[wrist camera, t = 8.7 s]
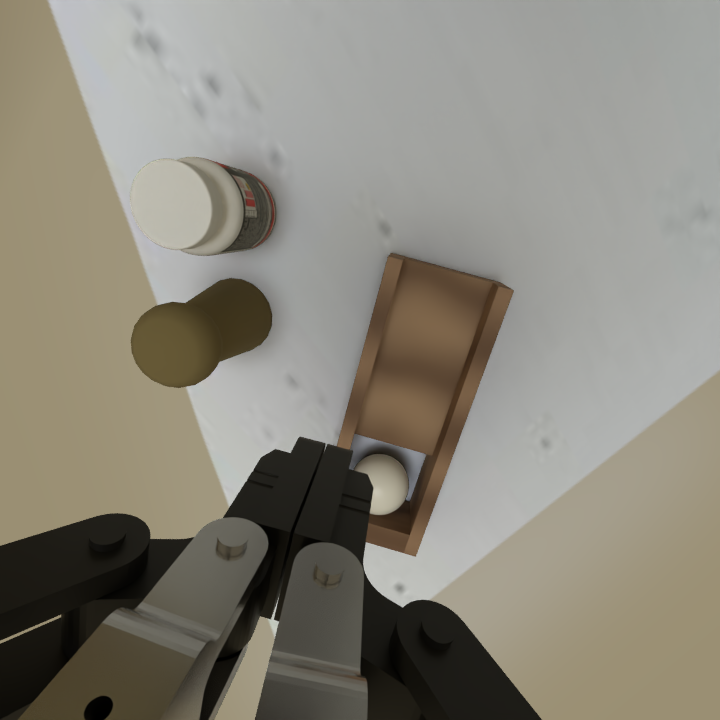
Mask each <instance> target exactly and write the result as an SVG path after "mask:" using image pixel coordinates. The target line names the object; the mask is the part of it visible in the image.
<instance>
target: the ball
mask: <svg viewBox="0 0 720 720" xmlns="http://www.w3.org/2000/svg"><path fill="white" fill-rule="evenodd" d="M354 471H358V472H362V473H365V474H368V476H369V479H370V481H371V483H372V485H373V495H372V502H371V509H370V513H371V514H374V515H385V514H389V513H391V512H394V511H395V510H397V509H398V508H399V507H400V506H401V505H402V504H403V502H404V501H405V499H406V497H407V494H408V489H409V480H408V476H407V473H406V471H405V469H404V467H403V466H402V465H401V464H400V462H398V461H397V460H396V459H394V458H393V457H391V456H388V455H384V454H374V455H370V456H367V457H365V458H364V459H362V460H361V461H360V462H359V463H358V464H357V465H356V466H355V468H354Z"/></svg>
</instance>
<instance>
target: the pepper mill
mask: <svg viewBox="0 0 720 720" xmlns="http://www.w3.org/2000/svg"><path fill="white" fill-rule="evenodd" d="M271 326H272V313H271V309H270V306H269V302H268V301H267V299H266V298H265V296H264V295H263V293H262V292H261V291H260V290H259V289H258V288H256V287H255V286H254V285H253V284H251V283H249V282H246V281H244V280H242V279H233V278H229V279H225V280H221V281H218V282H217V283H215V284H214V285H212V286H211V287H209V288H208V289H206V290H205V291H203V292H201V293H200V294H198V295H197V296H195V297H194V298H192V299H191V300H189V301H188V302H186V303H178V302H170V303H166V304H161V305H158V306H155V307H153V308H152V309H150V310H149V311H147V312H146V313H144V314H143V315H142V316H141V317H140V319H139V320H138V322H137V323H136V324H135V326H134V330H133V333H132V337H131V346H132V347H131V348H132V354H133V357H134V359H135V361H136V364H137V365H138V367H139V368H140V369H141V371H142V372H143V373H144V374H145V375H146V376H148V377H149V378H150V379H151V380H153V381H155V382H158V383H160V384H162V385H165V386H168V387H176V388H181V387H186V386H191V385H196V384H197V383H199V382H201V381H202V380H204V379H206V378H207V377H208V376H210V374H211V373H212V372H213V371H214V369H215V368H216V367H217V365H218V363H219V362H220V361H223V360H225V359H228V358H231V357H233V356H236V355H239V354H241V353H244V352H247V351H250V350H252V349H254V348H255V347H257V346H259V345H261V344H262V342H263V341H264V340H265V339H266V338H267V336H268V334H269V331H270V329H271Z"/></svg>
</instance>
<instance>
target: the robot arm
mask: <svg viewBox="0 0 720 720" xmlns="http://www.w3.org/2000/svg"><path fill="white" fill-rule="evenodd" d="M325 445H326V444H325V443H322V442H319V441H315V440H311V439H307V438H304V437H299V438H298V440H297V442H296V444H295V446H294V448H293V450H292V452H291V453H288V452H284V451H280V450H277V449H275V450H273V451H271V452H270V453H268V454H266V455H265V456H263V457H261V459H260V460H259V462H258V463H257V465H256V467H255V468H254V471H253V472H252V473H251V475H250V476H249V478H248V479H247V482H245V484H244V486H243V487H242V489H241V490H240V492H239V493H238V495H237V497H236V498H235V500H234V501H233V503H232V504H231V506H230V508H229V509H228V511H227V512H226V514H225V515H224V517H223V518H222V519H218V520H215V521H212V522H210V523H209V524H207V525H206V526H204V527H203V528H202V529H201V530H200V531H199V532H198V534H197V535H196V536H195V537H193V538H188V539H150V530H149V528H148V526H147V525H146V523H145V522H143V521H142V520H141V519H139V518H137V517H135V516H132V515H127V514H118V513H117V514H105V515H100V516H96V517H93V518H89V519H86V520H83V521H80V522H76V523H73V524H70V525H67V526H63V527H60V528H57V529H54V530H51V531H47V532H44V533H41V534H38V535H34V536H31V537H28V538H24V539H21V540H18V541H15V542H12V543H8V544H5V545H2V546H0V640H3V639H5V638H7V637H10V636H12V635H14V634H17V633H19V632H21V631H24V630H26V629H28V628H30V627H33V626H35V625H38V624H40V623H42V622H44V621H47V620H49V619H51V618H54V617H56V616H58V615H61V618H59V619H56V620H54V621H52V622H49V623H47V624H45V625H42V626H40V627H38V628H36V629H33V630H31V631H29V632H27V633H24V634H22V635H20V636H17V637H15V638H13V639H10V640H8V641H6V642H4V643H1V644H0V720H214V719H215V717H216V715H217V713H218V710H219V708H220V706H221V704H222V702H223V700H224V698H225V696H226V693H227V692H228V689H229V687H230V685H231V683H232V681H233V679H234V677H235V675H236V672H237V670H238V668H239V666H240V664H241V662H242V660H243V657H244V655H245V653H246V650H247V646H248V642H249V641H250V639H251V637H252V635H253V633H254V630H255V628H256V625H257V622H258V620H259V617H260V616H261V617H265V618H268V619H271V617H272V614H273V612H274V609H275V606H276V603H277V600H278V598H279V600H278V604H277V609H276V613H275V617H274V620H276V621H279V624H278V628H277V632H276V636H275V641H274V645H273V649H272V653H271V657H270V660H269V664H268V668H267V672H266V676H265V680H264V684H263V689H262V693H261V697H260V701H259V705H258V709H257V713H256V717H255V720H541V718H540V717H539V716H538V714H537V713H536V712H535V711H534V709H533V708H532V707H531V706H530V704H529V703H528V702H527V701H526V699H525V698H524V697H523V696H522V694H521V693H520V692H519V691H518V689H517V688H516V687H515V686H514V684H513V683H512V682H511V681H510V679H509V678H508V677H507V676H506V674H505V673H504V672H503V671H502V669H501V668H500V667H499V666H498V664H497V663H496V662H495V661H494V659H493V658H492V657H491V656H490V654H489V653H488V652H487V651H486V649H485V648H484V647H483V646H482V644H481V643H480V642H479V641H478V639H477V638H476V637H475V636H474V634H473V633H472V632H471V631H470V629H469V628H468V627H467V626H466V624H465V623H464V622H463V621H462V620H461V619H460V618H459V617H458V615H456V614H455V613H454V612H453V611H452V610H450V609H449V608H447V607H445V606H443V605H442V604H439V603H437V602H433V601H429V600H417V601H413V602H410V603H409V604H407V605H406V606H404V607H403V608H402V607H400V606H399V605H397V604H395V603H394V602H392V601H391V600H389V599H387V598H386V597H384V596H383V595H382V594H380V593H379V592H378V591H377V590H376V589H375V588H374V587H373V586H372V584H371V583H370V582H369V580H368V578H367V576H366V574H365V571H364V567H363V557H364V550H365V543H366V536H367V529H368V522H369V514H370V509H371V502H372V495H373V485H372V483H371V481H370V479H369V476H368V474H365V473H362V472H358V471H354V470H351V469H349V465H350V461H351V457H352V454H353V451H352V450H349V449H345V448H341V447H337V446H334V445H330V444H327V446H326V449H325ZM324 450H325V452H324Z"/></svg>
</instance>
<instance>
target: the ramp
mask: <svg viewBox="0 0 720 720" xmlns="http://www.w3.org/2000/svg"><path fill="white" fill-rule="evenodd" d="M513 292H514V290H512V289H510V288H509V287H507V286H505V285H504V284H502V283H500V282H497V281H493V280H489V279H486V278H482V277H478V276H475V275H471V274H467V273H464V272H460V271H456V270H453V269H449V268H445V267H442V266H438V265H434V264H430V263H427V262H423V261H419V260H416V259H412V258H408V257H405V256H401V255H397V254H394V253H390V255H389V256H388V259H387V262H386V266H385V270H384V273H383V277H382V281H381V285H380V288H379V292H378V296H377V299H376V303H375V307H374V310H373V314H372V318H371V322H370V325H369V329H368V333H367V336H366V340H365V344H364V348H363V351H362V355H361V359H360V362H359V366H358V370H357V373H356V377H355V381H354V385H353V388H352V392H351V396H350V399H349V403H348V407H347V410H346V414H345V418H344V422H343V425H342V429H341V433H340V436H339V440H338V444H337V447H341V448H345V449H349V450H350V447H351V443H352V440H353V436H354V433H355V434H358V435H362V436H365V437H369V438H372V439H376V440H379V441H383V442H386V443H390V444H393V445H397V446H400V447H404V448H407V449H411V450H414V451H418V452H421V453H425V454H426V457H425V460H424V463H423V466H422V469H421V472H420V474H419V477H418V480H417V483H416V486H415V489H414V492H413V495H412V498H411V500H410V502H409V501H406V500H405V501H404V502H403V504H402V505H401V506H400V507H399V508H398V509H397V510H395V511H394V512H391V513H389V514H385V515H374V514H371V513H370V514H369V522H368V529H367V536H366V542H368V543H371V544H374V545H378V546H381V547H385V548H388V549H391V550H395V551H398V552H402V553H405V554H409V555H412V556H415V557H416V554H417V552H418V549H419V546H420V544H421V541H422V538H423V535H424V533H425V530H426V527H427V525H428V522H429V519H430V516H431V514H432V511H433V508H434V506H435V503H436V500H437V497H438V495H439V492H440V489H441V487H442V484H443V481H444V478H445V476H446V473H447V470H448V468H449V465H450V462H451V460H452V457H453V454H454V451H455V449H456V446H457V443H458V441H459V438H460V435H461V432H462V430H463V427H464V424H465V422H466V419H467V416H468V413H469V411H470V408H471V405H472V403H473V400H474V397H475V394H476V392H477V389H478V386H479V384H480V381H481V378H482V376H483V373H484V370H485V367H486V365H487V362H488V359H489V357H490V354H491V351H492V348H493V346H494V343H495V340H496V338H497V335H498V332H499V329H500V327H501V324H502V321H503V319H504V316H505V313H506V310H507V308H508V305H509V302H510V300H511V297H512V294H513Z"/></svg>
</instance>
